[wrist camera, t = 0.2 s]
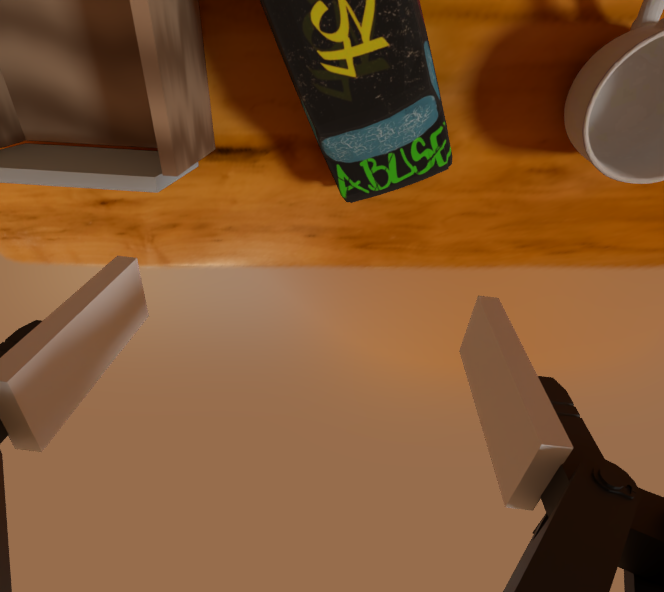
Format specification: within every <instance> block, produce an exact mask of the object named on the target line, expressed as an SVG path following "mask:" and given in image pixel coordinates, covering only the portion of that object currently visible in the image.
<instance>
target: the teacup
mask: <svg viewBox="0 0 664 592" xmlns="http://www.w3.org/2000/svg"><path fill="white" fill-rule="evenodd" d="M663 9H664V0H644V1H643V3H642V6H641V9H640V11H639V14H638V16H637V18H636V19H635V21H634V22H633V24H632V26H631V30H630V31H629V32H627V33H625V34H623V35H621V36H619V37H617V38H615V39H614V40H612V41H610V42H609V43H607V44H606V45H605V46H603V47H602V48H601V49H600V50H598V51H597V52H596V53H595V54H594V55H593V56H592V57H591V58H590V59H589V60H588V61H587V62H586V63H585V65H584V66H583V67H582V69H581V70H580V71H579V73H578V74H577V76H576V78H575V80H574V81H573V83H572V85H571V87H570V90H569V92H568V95H567V99H566V103H565V109H564V122H565V129H566V132H567V135H568V137H569V139H570V141H571V143H572V144H573V146H574V147H575V148H576V150H577V151H578V152H579V153H580V154H581V155H582V156H584V157H585V158H586V159H587V160H589V161H590V162H591V163H592V164H593V165H594V166H595V167H596V168H597V169H598V170H599V171H600V172H602V173H603V174H604V175H606V176H608V177H610V178H612V179H615V180H617V181H621V182H627V183H638V184H645V183H653V182H659V181H663V180H664V18H663V19H661V20H659V18H660V16H661V14H662V11H663Z"/></svg>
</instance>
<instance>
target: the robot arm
mask: <svg viewBox="0 0 664 592" xmlns="http://www.w3.org/2000/svg"><path fill="white" fill-rule="evenodd" d="M148 316H149V315H148V310H147V305H146V300H145V295H144V291H143V286H142V281H141V276H140V271H139V266H138V261H137V258H132V257H123V256H117V257H115V258H114V259H113V260H112V261H111V262H110V263H109V264H107V265H106V266H105V267H104V268H103V269H102V270H101V271H99V273H97V274H96V275H95V276H94V277H93V278H92V279H90V280H89V281H88V282H87V283H86V284H85V285H84V286H82V287H81V288H80V289H79V290H78V291H77V292H75V293H74V294H73V295H72V296H71V297H70V298H69V299H67V300H66V301H65V302H64V303H63V304H62V305H60V306H59V307H58V308H57V309H56V310H55V311H54V312H53V313H51V314H50V315H49V316H48V317H47V318H46V319H44V320H43V321H39V320H36V321H33V322H31V323H29V324H28V325H25V326H23V327H21V328H19V329H18V330H17V331H15V332H14V333H13V334H12V335H11V336H10V337H8V338H7V339H6V340H5V342H2V343H1V344H0V443H1V442H2V441H3V440H4V439H5V438H6V437H7V436H9V438H10V440H11V442H12V443H13V445H14V447H15V449H21V450H29V451H38V452H42V451H43V450H44V448H45V447H46V446H47V445H48V443H49V442H50V441H51V440H52V438H53V437H54V436H55V434H56V433H57V432H58V431H59V429H60V428H61V427H62V426H63V424H64V423H65V422H66V421H67V419H68V418H69V417H70V415H71V414H72V413H73V412H74V410H75V409H76V408H77V406H78V405H79V404H80V403H81V401H82V400H83V399H84V398H85V396H86V395H87V394H88V393H89V391H90V390H91V389H92V387H93V386H94V385H95V384H96V382H97V381H98V380H99V379H100V377H101V376H102V375H103V373H104V372H105V371H106V370H107V368H108V367H109V366H110V364H111V363H112V362H113V361H114V359H115V358H116V357H117V356H118V354H119V353H120V352H121V351H122V349H123V348H124V347H125V345H126V344H127V343H128V342H129V340H130V339H131V338H132V337H133V335H134V334H135V333H136V331H137V330H138V329H139V328H140V326H141V325H142V324H143V323H144V321H145V320H146V319H147V318H148ZM460 354H461V358H462V361H463V365H464V368H465V371H466V375H467V378H468V382H469V385H470V388H471V392H472V395H473V399H474V402H475V406H476V409H477V412H478V416H479V419H480V423H481V426H482V429H483V433H484V436H485V440H486V443H487V447H488V450H489V453H490V457H491V460H492V464H493V467H494V470H495V474H496V477H497V481H498V484H499V487H500V491H501V494H502V498H503V501H504V504H505V507H508V508H517V509H525V510H534V508H535V506H536V505H537V503H538V502H539V500H540V499H541V500H542V502H543V505H544V508H545V510H546V514H545V516H544V517H543V518H542V520H541V521H540V523H539V524H538V526H537V527H536V529H535V530H534V531H533V534H534V535H533V537H532V539H531V541H530V543H529V544H528V546H527V548H526V550H525V552H524V554H523V556H522V558H521V560H520V561H519V563H518V565H517V567H516V569H515V571H514V572H513V574H512V576H511V578H510V580H509V582H508V584H507V585H506V587H505V589H504V591H503V592H609V591H610V588H611V585H612V582H613V579H614V576H615V573H616V570H617V567H620V568H622V569H624V585H625V592H664V497H661V496H659V495H656V494H653V493H651V492H648V491H645V490H643V489H641V488H638V487H637V486H636V483H635V482H634V480H633V479H632V478H631V477H630V476H629V475H628V474H627V473H626V472H625V471H624V470H622V469H621V468H620V467H618V466H617V465H616V464H613V463H611V462H609V461H607V460H605V459H604V457H603V455H602V454H601V452H600V450H599V448H598V446H597V445H596V443H595V441H594V439H593V438H592V436H591V434H590V432H589V430H588V429H587V427H586V425H585V423H584V421H583V420H582V418H580V414H579V413H578V411H577V409H576V407H574V406H573V405H574V404H573V402H572V400H571V398H570V397H569V395H568V393H567V391H566V390H565V389H564V388H563V387H562V386H561V385H560V384H559V383H558V382H557V381H556V380H555V379H553V378H551V377H542V376H537V374H536V372H535V370H534V368H533V366H532V364H531V362H530V360H529V358H528V356H527V354H526V352H525V350H524V348H523V346H522V344H521V342H520V340H519V338H518V336H517V334H516V332H515V330H514V328H513V326H512V324H511V322H510V320H509V318H508V316H507V314H506V312H505V310H504V308H503V306H502V304H501V302H500V300H499V298H494V297H485V296H478V297H477V301H476V304H475V307H474V309H473V312H472V315H471V318H470V322H469V325H468V327H467V330H466V333H465V336H464V339H463V342H462V345H461V348H460ZM8 547H9V546H8V533H7V518H6V503H5V490H4V475H3V460H2V453H1V451H0V592H12V589H11V575H10V562H9V548H8Z"/></svg>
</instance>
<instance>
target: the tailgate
mask: <svg viewBox="0 0 664 592" xmlns="http://www.w3.org/2000/svg"><path fill="white" fill-rule="evenodd" d="M196 167H198V162H197V163H195V164H194V165H193V166H191V167H190V168H188V169H187V170H186V171H184V172H183V173H182V174H180V175H179V176H178V177H177V176H163V174H162V169H161V164H160V158H159V153H158V151H146V150H129V149H112V148H95V147H79V146H62V145H45V144H28V143H25V144H21V145H17V146H13V147H9V148H5V149H1V150H0V182H1V183H17V184H33V185H48V186H64V187H80V188H95V189H111V190H126V191H142V192H159V191H161V190H162V189H164V188H166V187H167V186H169V185H170V184H172V183H173V182H175V181H176V180H178V179H179V178H181V177H182V176H184V175H186V174H187V173H189V172H190V171H192V170H193V169H195V168H196Z"/></svg>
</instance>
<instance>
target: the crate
mask: <svg viewBox="0 0 664 592" xmlns="http://www.w3.org/2000/svg"><path fill="white" fill-rule="evenodd" d="M25 140H30V141H47V142H63V143H80V144H97V145H114V146H131V147H148V148H158V153H159V158H160V164H161V169H162V174H163V176H177V177H178V176H179V175H180V174H182V173H183V172H184V171H186V170H187V169H188V168H190V167H191V166H193V165H194V164H195V163H197V162H198V161H199V160H201V159H202V158H204V157H205V156H206V155H208V154H209V153H210V152H212V151H213V150H215V142H214V133H213V125H212V116H211V107H210V98H209V89H208V81H207V72H206V63H205V54H204V45H203V37H202V28H201V19H200V10H199V2H198V0H0V148H2V147H5V146H9V145H12V144H15V143H19V142H22V141H25Z"/></svg>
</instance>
